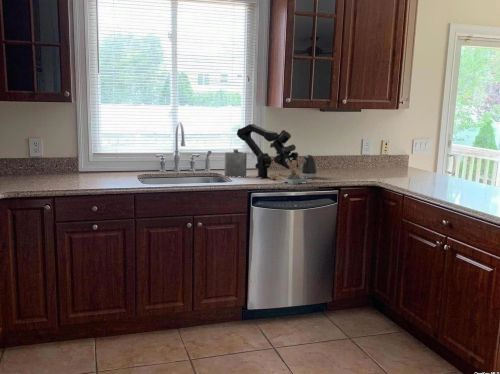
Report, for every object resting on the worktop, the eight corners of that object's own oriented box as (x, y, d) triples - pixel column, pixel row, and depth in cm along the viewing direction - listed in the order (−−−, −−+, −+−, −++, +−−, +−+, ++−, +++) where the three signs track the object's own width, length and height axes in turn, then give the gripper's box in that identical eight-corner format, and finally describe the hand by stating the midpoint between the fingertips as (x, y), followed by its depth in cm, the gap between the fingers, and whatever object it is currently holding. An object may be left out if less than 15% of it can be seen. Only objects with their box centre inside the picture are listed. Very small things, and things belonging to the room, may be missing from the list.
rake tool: (288, 181, 312) (288, 160, 310) (292, 180, 316) (293, 159, 314) (294, 182, 309) (295, 161, 307) (299, 181, 313) (300, 160, 310)
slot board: (270, 178, 325) (270, 174, 324) (282, 177, 330) (282, 173, 330) (281, 181, 315) (281, 177, 314) (293, 180, 320) (294, 176, 320)
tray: (281, 181, 314) (281, 177, 314) (295, 180, 320) (295, 176, 320) (292, 184, 305) (292, 180, 305) (306, 183, 311) (306, 178, 311)
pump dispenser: (297, 177, 331) (298, 154, 328) (307, 176, 338) (308, 153, 336) (309, 179, 324) (310, 156, 321) (319, 178, 331) (320, 155, 328)
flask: (225, 175, 335) (225, 148, 331) (246, 176, 334) (246, 149, 330) (224, 176, 331) (224, 149, 328) (246, 177, 330) (246, 149, 327)
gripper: (278, 141, 305) (291, 161, 300) (296, 139, 319) (310, 158, 313) (267, 152, 312) (281, 172, 306) (286, 150, 325) (299, 169, 320)
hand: (293, 167), depth 311 cm, fingers open, 9 cm apart
